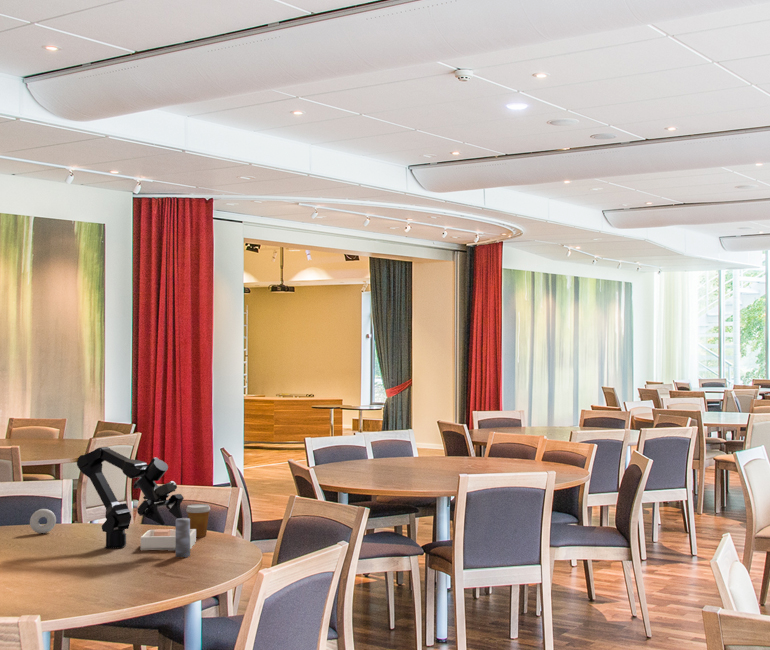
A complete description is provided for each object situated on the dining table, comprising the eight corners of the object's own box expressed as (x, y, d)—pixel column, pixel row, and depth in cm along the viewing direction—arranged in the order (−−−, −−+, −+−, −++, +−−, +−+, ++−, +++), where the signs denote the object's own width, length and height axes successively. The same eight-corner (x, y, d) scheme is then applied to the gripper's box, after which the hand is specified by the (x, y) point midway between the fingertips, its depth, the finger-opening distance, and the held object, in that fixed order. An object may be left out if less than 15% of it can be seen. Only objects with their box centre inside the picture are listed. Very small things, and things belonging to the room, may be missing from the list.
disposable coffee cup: (213, 533, 340) (213, 503, 341) (206, 538, 331) (206, 507, 331) (190, 533, 341) (190, 503, 342) (182, 538, 332) (182, 507, 332)
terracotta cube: (154, 545, 314) (154, 531, 314) (156, 542, 319) (156, 529, 319) (167, 545, 314) (167, 531, 314) (170, 542, 319) (170, 529, 319)
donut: (29, 535, 339) (29, 510, 339) (29, 533, 342) (29, 508, 343) (56, 533, 343) (56, 508, 343) (55, 531, 346) (56, 507, 346)
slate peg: (174, 557, 297) (174, 520, 298) (177, 554, 302) (177, 518, 303) (188, 557, 298) (188, 520, 298) (191, 554, 303) (191, 517, 303)
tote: (140, 551, 309) (140, 537, 309) (148, 543, 323) (148, 529, 323) (190, 550, 310) (190, 536, 310) (196, 542, 324) (196, 529, 324)
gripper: (143, 477, 298) (166, 511, 292) (180, 471, 315) (202, 503, 309) (126, 498, 302) (149, 532, 296) (164, 491, 318) (186, 523, 312)
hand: (173, 522), depth 303 cm, fingers open, 9 cm apart
